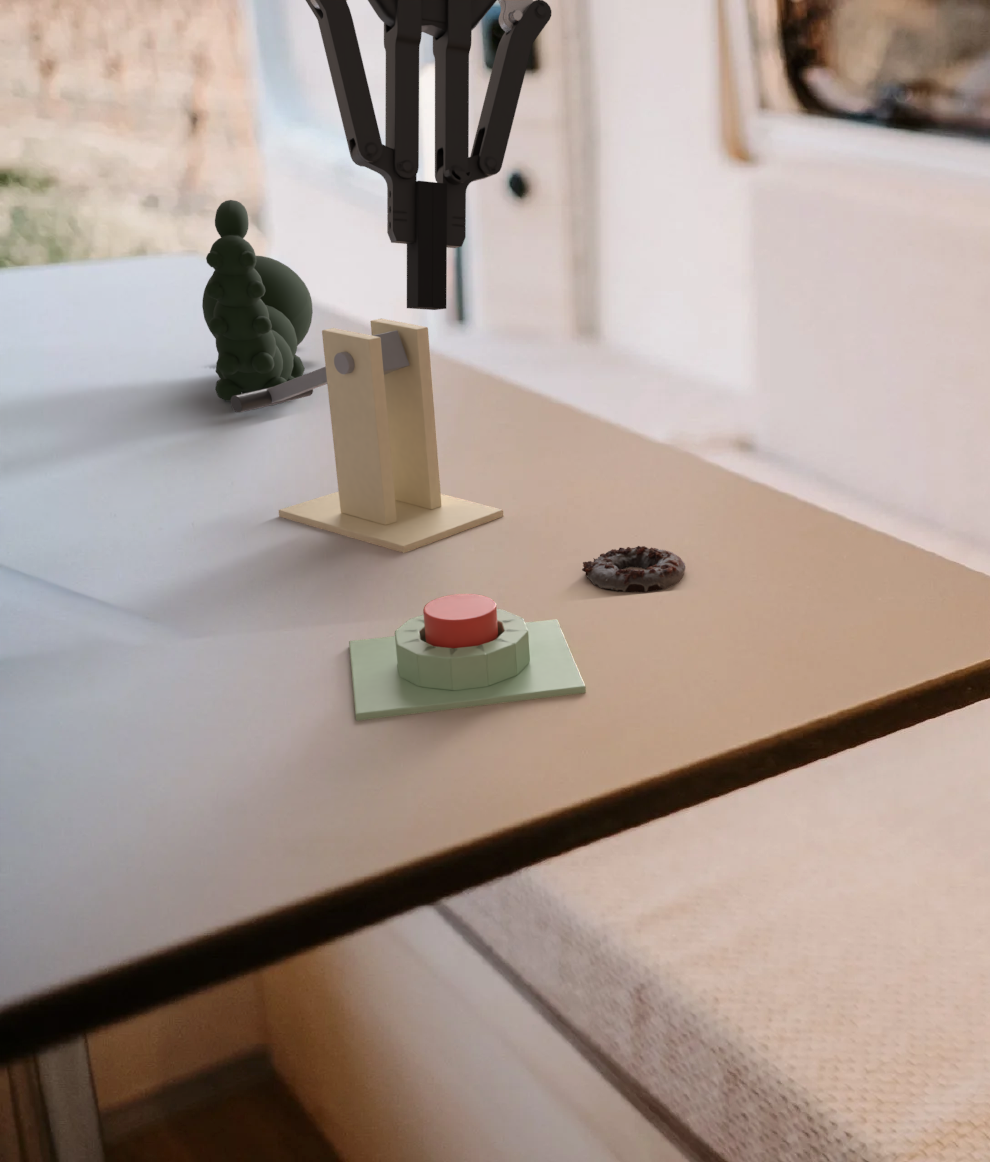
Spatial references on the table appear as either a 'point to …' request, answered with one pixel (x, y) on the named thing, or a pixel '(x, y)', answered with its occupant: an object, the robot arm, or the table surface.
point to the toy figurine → (252, 310)
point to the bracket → (385, 447)
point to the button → (460, 621)
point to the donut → (658, 576)
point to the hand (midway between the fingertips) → (426, 307)
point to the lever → (317, 378)
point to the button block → (461, 669)
